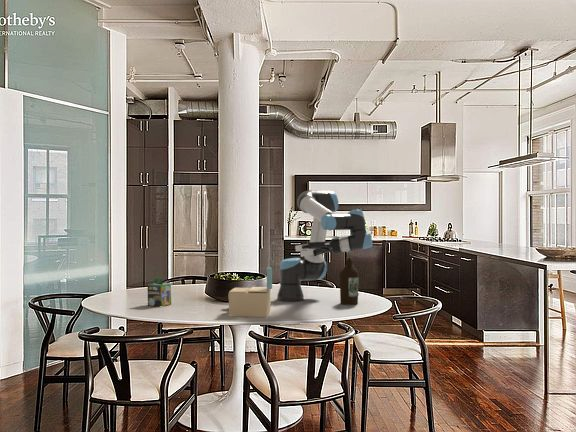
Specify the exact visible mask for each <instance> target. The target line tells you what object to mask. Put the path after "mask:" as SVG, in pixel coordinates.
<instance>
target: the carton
mask: <svg viewBox="0 0 576 432" xmlns="http://www.w3.org/2000/svg"><path fill="white" fill-rule="evenodd" d="M250 288H251V287H233V288H232V289H231V290H229V292H228V294H227V295H228V296H227V299H228V317H254V318H255V317H261V318H262V317H263V318H264V317H265V318H266V317H267V316H268V315H270V312H271V289H269V290H268V291H267V292H248V290H249V289H250Z"/></svg>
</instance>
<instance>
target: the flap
mask: <svg viewBox="0 0 576 432" xmlns="http://www.w3.org/2000/svg"><path fill="white" fill-rule="evenodd" d="M249 288H250V289H249V290H248V292H267V291H268V290H269V289H270V290H272V289H273V267H267V268H266V286H252V287H249Z"/></svg>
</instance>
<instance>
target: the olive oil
mask: <svg viewBox="0 0 576 432" xmlns="http://www.w3.org/2000/svg"><path fill="white" fill-rule="evenodd" d="M338 276H339V293H340V295H339V298H340V302H339V303H340V304H341V305H347V306H348V305H349V306H351V305H354V306H355V305H358V303H359V294H360V293H359V282H360V281H359V278H360V274H359V271H358V270H357V268H356V267H355V266H354V264H353V257H346V259H345V265H344V266H343V268H342V269H340V271H339V275H338Z"/></svg>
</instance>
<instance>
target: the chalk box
mask: <svg viewBox="0 0 576 432" xmlns="http://www.w3.org/2000/svg"><path fill="white" fill-rule="evenodd" d="M158 280H159V281H158ZM146 286H147V307H157V306H163V307H166V306H169V305H172V283H171V282H163V278H162V277H154V283H149V284H147V285H146Z"/></svg>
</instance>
